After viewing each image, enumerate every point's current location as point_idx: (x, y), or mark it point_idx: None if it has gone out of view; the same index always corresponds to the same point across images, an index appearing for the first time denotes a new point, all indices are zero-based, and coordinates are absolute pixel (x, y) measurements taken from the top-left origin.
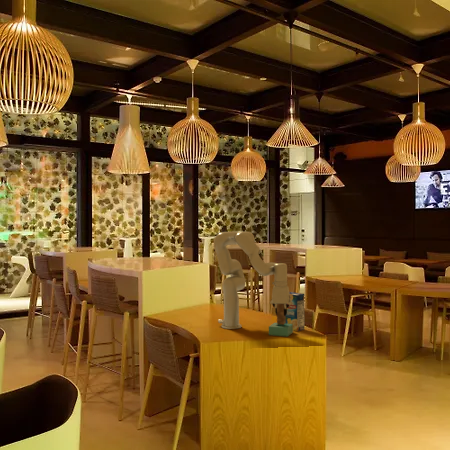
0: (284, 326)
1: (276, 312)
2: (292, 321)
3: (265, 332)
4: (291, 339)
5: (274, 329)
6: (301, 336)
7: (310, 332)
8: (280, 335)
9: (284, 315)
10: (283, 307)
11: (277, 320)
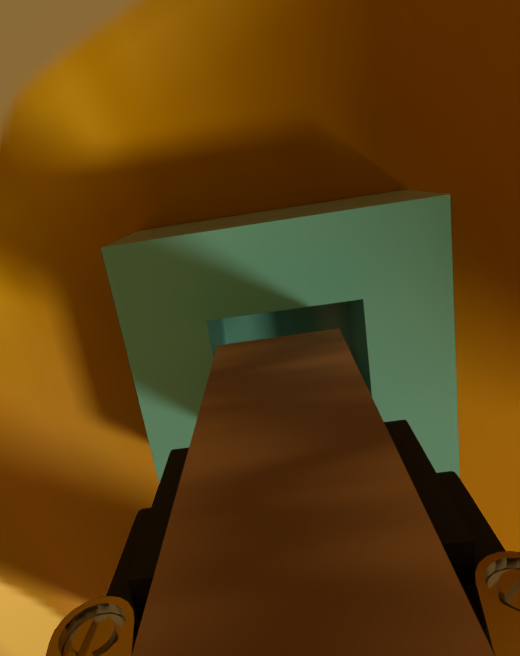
0: (204, 332)
1: (416, 456)
2: None
3: (503, 304)
4: (17, 106)
5: (334, 207)
6: (3, 331)
7: (25, 545)
8: (237, 215)
9: (182, 448)
10: (145, 608)
11: (341, 352)
